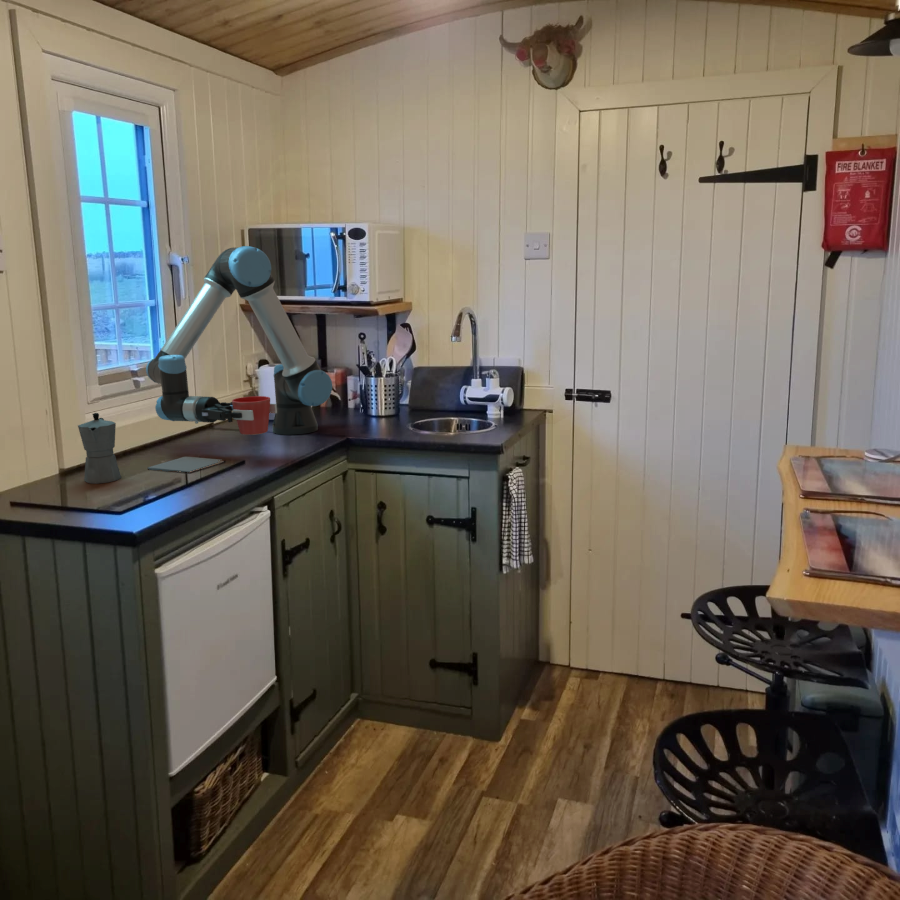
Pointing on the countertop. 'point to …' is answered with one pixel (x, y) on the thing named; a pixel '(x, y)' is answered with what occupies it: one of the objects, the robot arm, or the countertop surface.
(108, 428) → the coffeepot
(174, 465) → the slate coaster
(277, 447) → the countertop surface
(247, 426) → the flower pot
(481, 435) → the countertop surface
